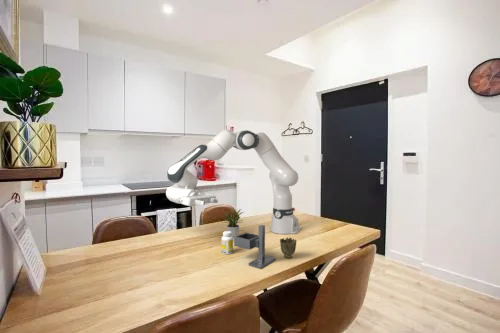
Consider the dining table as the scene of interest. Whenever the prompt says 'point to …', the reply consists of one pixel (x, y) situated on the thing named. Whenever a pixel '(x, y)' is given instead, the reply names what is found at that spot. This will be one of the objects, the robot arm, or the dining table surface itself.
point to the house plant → (233, 223)
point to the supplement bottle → (227, 243)
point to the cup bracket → (254, 241)
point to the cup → (288, 247)
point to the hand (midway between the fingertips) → (210, 202)
